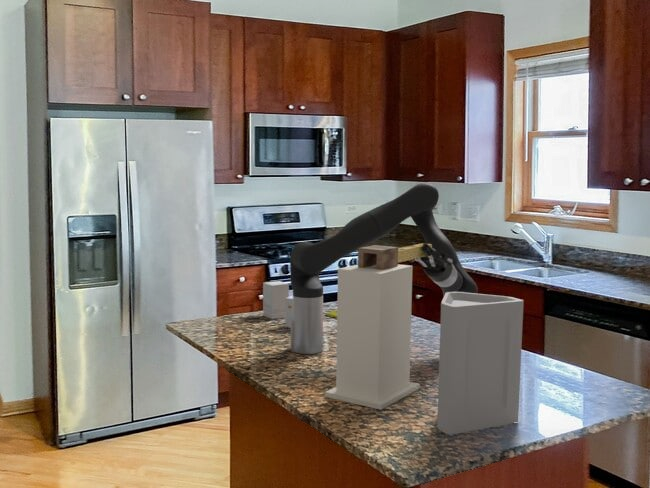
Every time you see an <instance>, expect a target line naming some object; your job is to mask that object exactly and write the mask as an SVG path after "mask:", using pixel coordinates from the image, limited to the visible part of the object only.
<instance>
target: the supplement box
mask: <svg viewBox="0 0 650 488" xmlns="http://www.w3.org/2000/svg"><path fill="white" fill-rule="evenodd" d="M262 283H263V284H262V297H263V298H262V315H263V316H264V317H266V318H269V319H271V320H275V319H276V320H277V319H285V298H287V297H289V296H290V287H289V286H290V284H289V283H287V282H284V281H280V280H278V281H265V282H262Z"/></svg>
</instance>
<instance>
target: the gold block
mask: <svg viewBox="0 0 650 488" xmlns="http://www.w3.org/2000/svg"><path fill="white" fill-rule="evenodd" d="M416 244H417V243H416ZM423 244H424V242H423V243H418V244H417V245H412V246H410V245H407V246H402V247H398V264H400V263H402V262H407V261H408V262H409V260H412V259H416V258H421V257H425V256H428V255H426V254H425V253H424V252H423V251H422V247H423ZM428 245H429V246H430V247H431V248H432V244H428Z"/></svg>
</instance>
